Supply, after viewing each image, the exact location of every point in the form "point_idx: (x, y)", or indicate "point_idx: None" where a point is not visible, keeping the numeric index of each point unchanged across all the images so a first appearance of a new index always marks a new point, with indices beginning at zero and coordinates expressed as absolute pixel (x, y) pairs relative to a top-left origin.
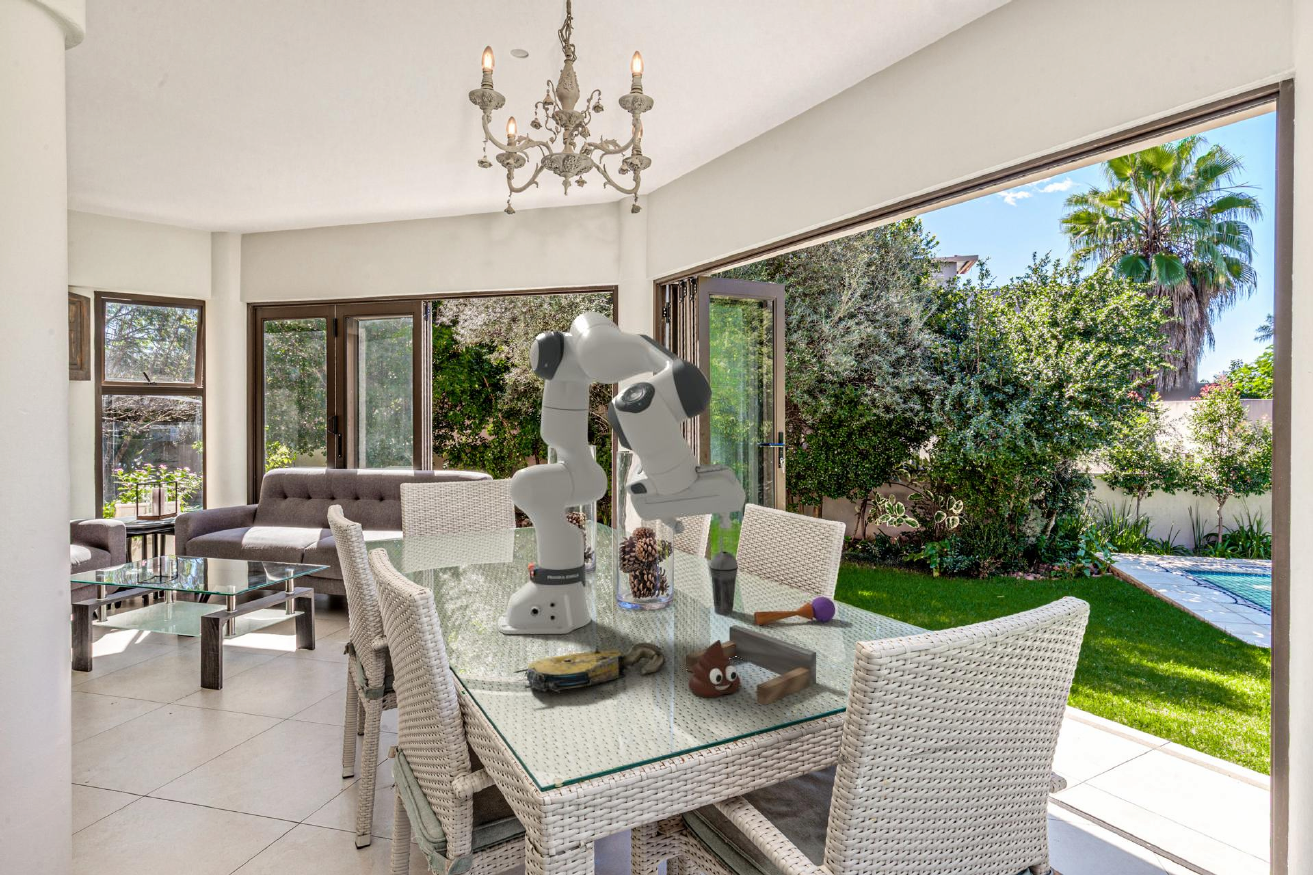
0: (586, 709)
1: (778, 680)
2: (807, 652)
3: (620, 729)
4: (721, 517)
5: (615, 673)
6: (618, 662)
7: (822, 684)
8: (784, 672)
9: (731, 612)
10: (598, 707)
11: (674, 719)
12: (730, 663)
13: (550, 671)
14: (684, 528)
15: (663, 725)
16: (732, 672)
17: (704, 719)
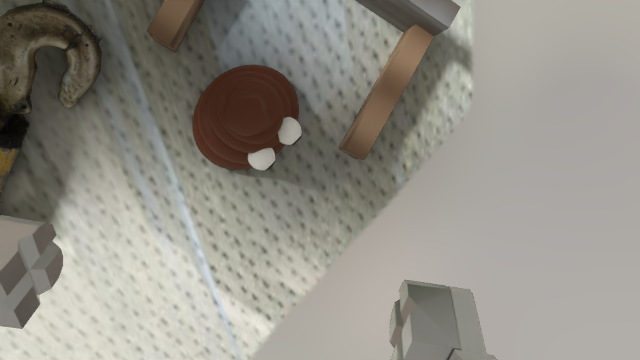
0: None
1: (382, 111)
2: (442, 14)
3: (131, 345)
4: (414, 348)
5: (12, 159)
6: (3, 147)
7: None
8: (370, 7)
9: None
10: None
11: (213, 273)
12: (283, 109)
13: None
14: (51, 226)
15: (201, 301)
16: (295, 142)
17: (265, 252)
